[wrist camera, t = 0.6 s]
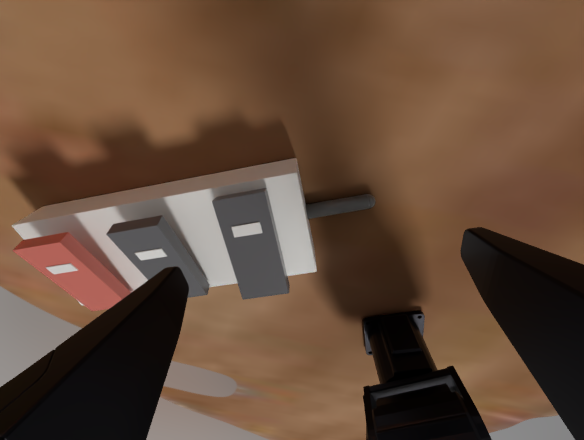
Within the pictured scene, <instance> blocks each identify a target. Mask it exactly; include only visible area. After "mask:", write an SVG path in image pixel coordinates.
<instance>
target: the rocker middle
mask: <svg viewBox="0 0 584 440" xmlns="http://www.w3.org/2000/svg"><path fill="white" fill-rule="evenodd" d="M106 235H107V236H108V237H109V238H110V239H111V240H112V241H113V242H114V243H115V245H116V246H117V247H118V248H119V249H120V250H121V251H122V252H123V253H124V254H125V255H126V257H127V258H128V259H129V260H130V261H131V262H132V263H133V264H134V265H135V266H136V267H137V269H138V270H139V271H140V272H141V273H142V274H143V275H144V276H145V277H146V278H147V279H148V280H149V279H151V278H152V277H153V276H155V275H156V274H157V273H159V272H160V271H162V270H163V269H164V268H166V267H173V266H178V267H180V269H181V270H182V272H183V274H184V276H185V278H186V280H187V282H188V285H189V293H188V297H195V296H202V295H207V294H208V290H209V285H210V284H209V283H208V281H207V280H206V278H205V277H204V276H203V274H202V273H201V271H200V270H199V268H198V267H197V265H196V264H195V262H194V261H193V259H192V258H191V256H190V255H189V253H188V252H187V250H186V249H185V248H184V246H183V245H182V243H181V242H180V240H179V239H178V237H177V236H176V234H175V233H174V231H173V230H172V228H171V227H170V225H169V224H168V222H167V221H166V220H165V218H164V217H163V215H160V216H155V217H149V218H144V219H138V220H132V221H127V222H121V223H116V224H113V225H112V226H111V228H110V229H109V231H108V232H107V234H106Z"/></svg>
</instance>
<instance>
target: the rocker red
mask: <svg viewBox="0 0 584 440" xmlns="http://www.w3.org/2000/svg"><path fill="white" fill-rule="evenodd" d="M13 251H14V252H15V253H16V254H18V255H19V256H20V257H22V258H23V259H24V260H26V261H27V262H28V263H30V264H31V265H32V266H33V267H35V268H36V269H37V270H39V271H40V272H41V273H43V274H44V275H45V276H47V277H48V278H49V279H51V280H52V281H53V282H54V283H56V284H57V285H58V286H60V287H61V288H62V289H64V290H65V291H66V292H68V293H69V294H70V295H71V296H73V297H74V298H75V299H77V300H78V301H79V302H81V303H82V304H83V305H85V306H86V307H87V308H89V309H90V310H91V311H96V310H103V309H110V308H111V307H112V306H114V305H115V304H116V303H118V302H119V301H121V300H122V299H123V298H125V297H126V296H127V295H129V294H130V293H131V292H130V291H129V290H128V289H127V288H126V287H125V286H124V285H123V284H122V283H121V282H120V281H119V280H118V279H117V278H116V277H115V276H114V275H113V274H112V273H111V272H110V271H109V270H108V269H106V268H105V267H104V266H103V265H102V264H101V263H100V262H99V261H98V260H97V259H96V258H95V257H94V256H93V255H92V254H91V253H90V252H89V251H88V250H87V249H86V248H85V247H84V246H83V245H82V244H81V243H80V242H78V241H77V240H76V239H75V238H74V237H73V236H72V235H71V234H70V233H69V232H65V233H59V234H54V235H48V236H42V237H37V238H31V239H26V240H22V241H21V242H20V243H19V245H18V246H17V247H16V248H15V249H14V250H13Z"/></svg>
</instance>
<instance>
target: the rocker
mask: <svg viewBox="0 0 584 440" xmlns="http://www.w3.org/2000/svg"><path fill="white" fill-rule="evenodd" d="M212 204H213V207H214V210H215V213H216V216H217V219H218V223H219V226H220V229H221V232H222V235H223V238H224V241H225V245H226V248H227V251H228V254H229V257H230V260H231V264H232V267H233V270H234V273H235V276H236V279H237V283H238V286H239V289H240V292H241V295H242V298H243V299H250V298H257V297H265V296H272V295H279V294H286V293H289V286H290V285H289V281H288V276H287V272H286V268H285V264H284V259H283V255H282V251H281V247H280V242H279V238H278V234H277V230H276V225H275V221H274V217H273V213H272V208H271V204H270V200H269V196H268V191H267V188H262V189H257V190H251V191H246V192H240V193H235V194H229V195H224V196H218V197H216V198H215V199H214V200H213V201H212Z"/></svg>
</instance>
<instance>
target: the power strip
mask: <svg viewBox="0 0 584 440" xmlns="http://www.w3.org/2000/svg"><path fill="white" fill-rule="evenodd" d="M262 188H267V191H268V196H269V200H270V204H271V208H272V213H273V217H274V221H275V225H276V230H277V234H278V238H279V242H280V247H281V251H282V255H283V259H284V264H285V268H286V272H287V276H291V275H298V274H304V273H311V272H317V268H316V258H315V249H314V244H313V239H312V234H311V229H310V224H309V219H311V218H317V217H323V216H329V215H335V214H341V213H347V212H353V211H359V210H365V209H370V208H372V207H373V206H374V205H375V198H374V197H373V196H372V195H370V194H365V195H359V196H353V197H347V198H341V199H336V200H330V201H324V202H318V203H312V204H307V205H306V203H305V198H304V193H303V188H302V183H301V178H300V173H299V168H298V163H297V158H293V159H287V160H282V161H277V162H272V163H266V164H261V165H256V166H251V167H246V168H240V169H235V170H230V171H225V172H219V173H214V174H209V175H204V176H199V177H193V178H188V179H183V180H178V181H172V182H167V183H162V184H157V185H152V186H146V187H141V188H136V189H131V190H125V191H120V192H115V193H110V194H105V195H99V196H94V197H89V198H84V199H78V200H73V201H68V202H63V203H58V204H52V205H47V206H42V207H41V208H39V209H37V210H36V211H34V212H33V213H31V214H29V215H28V216H26V217H24V218H23V219H21V220H19V221H18V222H16V223H15V224H13V225H11V226H12V227H13V228H14V229H15V230H16V231H17V232H18V234H19V235H20V236H21V237H22V238H23V239H24V240H26V239H31V238H37V237H42V236H48V235H54V234H59V233H65V232H69V233H70V234H71V235H72V236H73V237H74V238H75V239H76V240H77V241H78V242H80V243H81V244H82V245H83V246H84V247H85V248H86V249H87V250H88V251H89V252H90V253H91V254H92V255H93V256H94V257H95V258H96V259H97V260H98V261H99V262H100V263H101V264H102V265H103V266H104V267H105V268H106V269H108V270H109V271H110V272H111V273H112V274H113V275H114V276H115V277H116V278H117V279H118V280H119V281H120V282H121V283H122V284H123V285H124V286H125V287H126V288H127V289H128V290H129V291H130V292H133V291H134V290H136V289H137V288H138V287H140V286H141V285H142V284H144V283H145V282H147V281H148V279H147V278H146V277H145V276H144V275H143V274H142V273H141V272H140V271H139V270H138V269H137V267H136V266H135V265H134V264H133V263H132V262H131V261H130V260H129V259H128V258H127V257H126V255H125V254H124V253H123V252H122V251H121V250H120V249H119V248H118V247H117V246H116V245H115V243H114V242H113V241H112V240H111V239H110V238H109V237H108V236H107V235H106V234H107V232H108V231H109V229H110V228H111V226H112V225H113V224H116V223H121V222H127V221H132V220H138V219H144V218H149V217H155V216H160V215H163V217H164V218H165V220H166V221H167V222H168V224H169V225H170V227H171V228H172V230H173V231H174V233H175V234H176V236H177V237H178V239H179V240H180V242H181V243H182V245H183V246H184V248H185V249H186V250H187V252H188V253H189V255H190V256H191V258H192V259H193V261H194V262H195V264H196V265H197V267H198V268H199V270H200V271H201V273H202V274H203V276H204V277H205V278H206V280H207V281H208V283H209V284H210V285H209V287H214V286H221V285H228V284H235V283H237V279H236V276H235V273H234V270H233V267H232V264H231V260H230V257H229V254H228V251H227V248H226V245H225V241H224V238H223V235H222V232H221V229H220V226H219V223H218V219H217V216H216V213H215V210H214V207H213V204H212V201H213V200H214V199H215V198H216V197H218V196H224V195H229V194H235V193H240V192H246V191H251V190H257V189H262ZM76 300H77V299H76ZM77 301H78V300H77ZM78 302H79V301H78ZM79 303H80V304H81V305H82V306H83V304H82V303H81V302H79Z"/></svg>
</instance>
